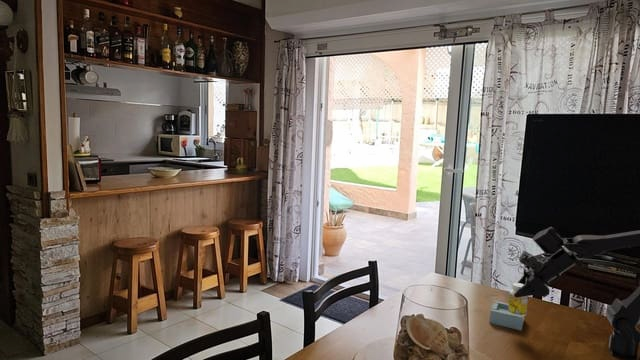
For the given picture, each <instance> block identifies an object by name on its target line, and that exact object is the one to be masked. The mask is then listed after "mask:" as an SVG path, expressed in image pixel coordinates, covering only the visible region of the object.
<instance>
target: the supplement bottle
mask: <svg viewBox="0 0 640 360" xmlns="http://www.w3.org/2000/svg"><path fill="white" fill-rule="evenodd" d="M523 285H524V284H521V283H518V282H513V283H512V285H511V286H512V289H510V291H509V296H508V304H509V306H508V312H509V313H510V314H511V315H514V316H518V317H523V316H524V317H525V316H526V315H527V309H528V298H529V296H524V297H517V298H516V297H515V296H514V294H515V293H516V292H517V291H518V290H519V289H520V288H521V287H522V286H523Z"/></svg>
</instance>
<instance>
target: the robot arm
mask: <svg viewBox="0 0 640 360" xmlns="http://www.w3.org/2000/svg"><path fill="white" fill-rule="evenodd" d="M532 241H533V242H534V243H535V244H536V245H537V246H538V247H539V249H541V251H542V252H543V253H544V254H549V255H550V256H549V257H547V258H546V257H542V258H541V259H540V258H538V256H535V255H533V254H532V253H529V252H528V251H526V250H523V251H522V253H521V254H520V256H519V258H518V260H519V263H521V264H522V265H523V267H524V268H523V273H522V274H523V275H522V276H521V278H520V279H519V280H518V281H517V283H521V284H524V285H523V286H522V287H521V288H520V289H519V290H518V291H517V292H516V293H515V294H514V296H515V297H516V298H517V297H524V296H528V297H530V296H542V297H543V298H546V297H547V296H549V295H550V292H551V290H550V287H549V285H550V283H549V282H551V281H553V280H554V279H555V278H557V279H560V278H561V277H562V276H561V274H563V273H565V272H566V271H567V270H569V269H570V268H572V267H573V266H575V265H576V266H577V267H578V268H579V269H580V270H582V269H583V267H584V266H583V264H584V259H589V258H592V257H593V258H594V257H596V256H600V255H602V254H604V253H605V252H607V251H611V250H619V249H625V248H626V249H627V248H633V247H639V246H640V229H639V230H633V231H632V230H631V231H627V232H625V231H624V232H619V233H613V234H605V235H595V234H580V235H576V236H574V237H561V236H560V235H559V234H558V233H557V232H556V230H555V229H554V227H552V226H549V227H548V228H546V229H543V230H540V231H539V232H537V233H536V234H535V235H534V236H533V237H532ZM565 248H566V249H567V250H568V251H567V250H566V249H565ZM575 254H576V255H577V256H576V255H575ZM578 256H579V257H580V258H579V257H578ZM606 308H607V310H606V313H605V314H606V318H607V320H608V322H609V323H610V325H611V326H612V327H613V330H612V333H611V334H610V337H609V340H608V341H609V343H608V348H609V351H610V353H611V355H612V356H614V357H618V358H619V357H620V358H623V359H626V360H627V359H628V360H639V357H638V355H639V354H638V353H639V347H640V330H639V328H637V325H638V323H639V322H640V285H639V286H638V287H637V288H636V289H635V290H634V291H633V292H632V293H631V294H630V295H629V296H628V297H627V298H625V299H623V300H619V298H615V299H614V301H613V302H612V303H611V304H610V305H608V306H607V307H606Z"/></svg>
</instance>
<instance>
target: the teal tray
mask: <svg viewBox="0 0 640 360" xmlns="http://www.w3.org/2000/svg"><path fill="white" fill-rule="evenodd" d="M508 306H509V302H508V303H507V302H503V301H499V300H494V301H493V303H492V307H491V309H490V314H489V323H490V324H493V325H495V326H496V325H497V326H499V327H504V328H505V327H506V328H509V329H513V330H517V331H523V326H524V321H525V316H523V317H518V316H514V315H511V314H510V313H509V312H508Z"/></svg>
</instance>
